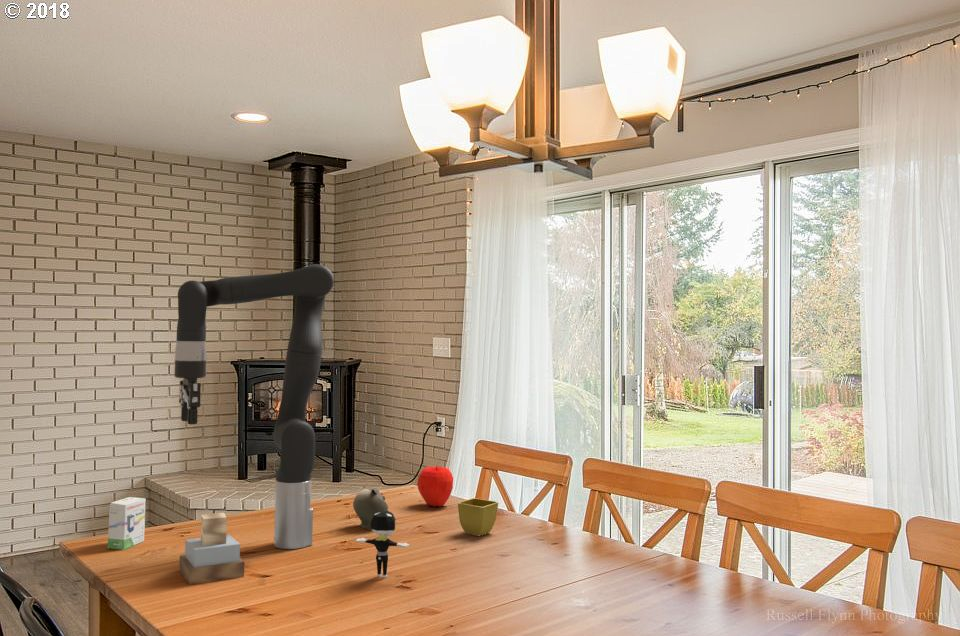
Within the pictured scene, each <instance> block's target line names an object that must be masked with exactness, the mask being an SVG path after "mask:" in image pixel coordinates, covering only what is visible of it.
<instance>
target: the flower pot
mask: <svg viewBox="0 0 960 636" xmlns="http://www.w3.org/2000/svg"><path fill="white" fill-rule="evenodd" d="M498 507H499V502H498V501H495V500H489V499H481V498H476V497H472V498H469V499H465V500H463V501H459V502H457V508H458V519H459V523H460V526H461V528H462V530H463V532H464V533H465V534H466V533H469V534H468V535H471V534H474V535H473V536H476V535H482V536H484V535H483V534H485V533H487V534H489V533H490V532H491V530H492V529H493V527H494V525H495V522H496V519H497V514H498V509H499V508H498ZM488 532H489V533H488ZM485 535H486V534H485Z"/></svg>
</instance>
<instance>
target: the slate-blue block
mask: <svg viewBox="0 0 960 636" xmlns="http://www.w3.org/2000/svg"><path fill="white" fill-rule="evenodd" d="M184 546H185V551H184V553H185V554H184V555H185V557H186V558H187V559H188V561H189V562H190V563H191V564H192V565H193V567H194V568H196V567H203V566H210V565H218V564H225V563H232V562H240V558H241V543H239V542H238V541H237V540H236V539H235V538H234V537H233V536H231V534H228V533H226V543H225V544H215V545H205V546H203V544H202V542H201V537H195V538H186V539H185V545H184Z"/></svg>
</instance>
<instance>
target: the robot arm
mask: <svg viewBox="0 0 960 636" xmlns="http://www.w3.org/2000/svg"><path fill="white" fill-rule="evenodd" d="M334 284H335V278H334V275H333V273H332V271H331V270H330V269H329V268H328V267H326V266H325V265H323V264H319V263H314V264H310V265H307V266H306V267H305V266H304V267H302V268H297V269H294V270H290V271H289V270H288V271H284V272H278V273H269V274H268V273H267V274H255V275H239V276H230V277H223V278H220V279H216V280H203V281H197V280H188V281H185V282H183V283H182V284H181V285H180V286H179V288H178V290H177V291H178V292H177V312H178V313H177V314H178V315H177V316H178V320H177V324H176V341H175V342H176V343H175V349H174V377H175V378H178V379H183V380H180V381H179V399H178V402H179V405H180V408H181V410H180V412H181V413H180V421H182V422H187V424H188V425H197V424H198V413H199V412H198V410H199V409H200V408H201V406H202V405H201V389H202V388H201V386H202V384H201V382H198V379H203V378H206V377H207V375H206V374H207V343H206V341H207V339H206V338H207V337H206V336H207V324H206V316H207V310H208V309H207V308H209V307H214V306H219V305H236V304H245V303H251V302H257V301H258V302H259V301H262V300H263V301H264V300H268V299H273V298H279V297H291V296H295V305H294V307H295V308H294V316H293V321H292V325H291V328H290V334H289V338H288V345H287V349H286V356H285V361H284V362H285V363H284V373H283V381H282V390H281V399H280V405H279V409H278V413H277V417H276V421H275V425H274V428H273V442H274V445H275V446H276V447H277V449H278V450H280V461H279V463H280V464H279V467H278V468H277V469H276V471H275V488H274V489H275V495H274V498H275V499H274V500H275V501H274V502H275V503H274V532H273V533H274V536H273V544H274V545H273V546H274V547H275V548H278V549H283V550H296V549H302V548H306V547H308V546H313V532H314V531H313V530H314V529H313V528H314V509H313V507H311V502H312V499H311V497H312V475H313V474H312V472H313V471H314V468H315V456H316V434H315V431H314V428H313V427H312V425H311V424H310V423H308V422H306V414H307V407H308V401H309V398H310V395H311V393H312V390H313V389H314V386H315V384H316V382H317V379H318V377H319V374H320V368H321V361H322V354H323V334H322V333H323V332H322V313H323V309H324V304H325V299H326V296H327V295H328V294H329V293H330V292H331V290H332V289H333V287H334Z"/></svg>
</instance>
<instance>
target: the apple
mask: <svg viewBox="0 0 960 636" xmlns="http://www.w3.org/2000/svg"><path fill="white" fill-rule="evenodd" d="M416 486H417V489H418V492H419V495H421V498H422V499H423V500H424V502H425V504H427V505H428V506H431V507H436V506H439V507H443V506H445V504H446V503H447V501H448V500H449V498H450V496H451V495H452V491H453V488H454V476H453V473H452V471H450V469H449V468H447V467H444V466H438V465H436V466H426V467H424V468H423V469H422V470H421V471H420V473H419V475H418V477H417V485H416Z"/></svg>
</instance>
